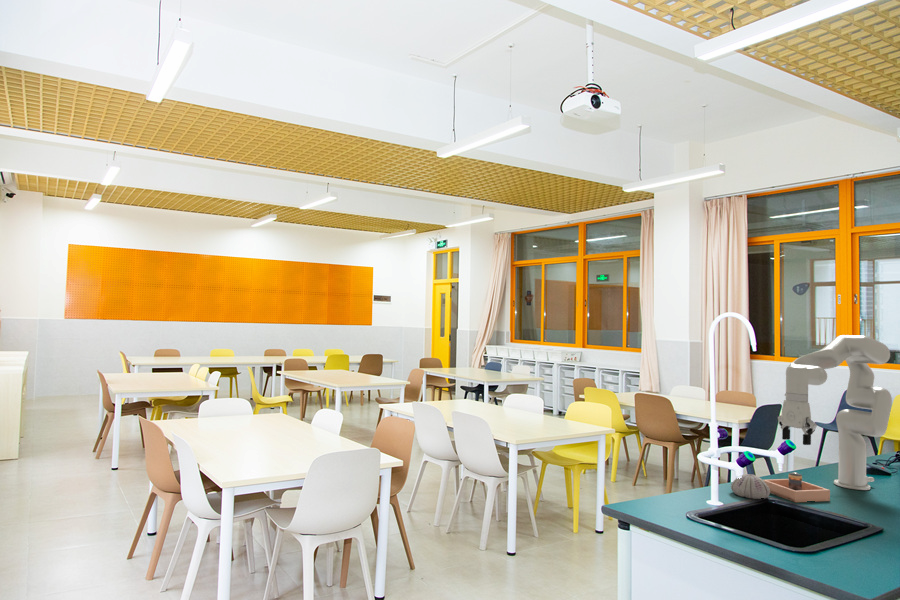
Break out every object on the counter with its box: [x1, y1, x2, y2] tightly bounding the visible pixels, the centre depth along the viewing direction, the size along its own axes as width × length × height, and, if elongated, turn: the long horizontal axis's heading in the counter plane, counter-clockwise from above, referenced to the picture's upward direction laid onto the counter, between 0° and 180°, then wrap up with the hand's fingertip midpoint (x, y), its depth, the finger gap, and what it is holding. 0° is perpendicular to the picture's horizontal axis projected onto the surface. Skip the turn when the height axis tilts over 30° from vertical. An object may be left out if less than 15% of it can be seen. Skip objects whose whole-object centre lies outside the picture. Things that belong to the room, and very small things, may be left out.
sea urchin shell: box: [730, 473, 771, 500], centre depth 223 cm, size 13×14×8 cm
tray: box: [762, 478, 831, 503], centre depth 226 cm, size 16×16×4 cm
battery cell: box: [788, 471, 803, 491], centre depth 226 cm, size 4×4×8 cm
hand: (796, 442), depth 227 cm, fingers open, 9 cm apart
